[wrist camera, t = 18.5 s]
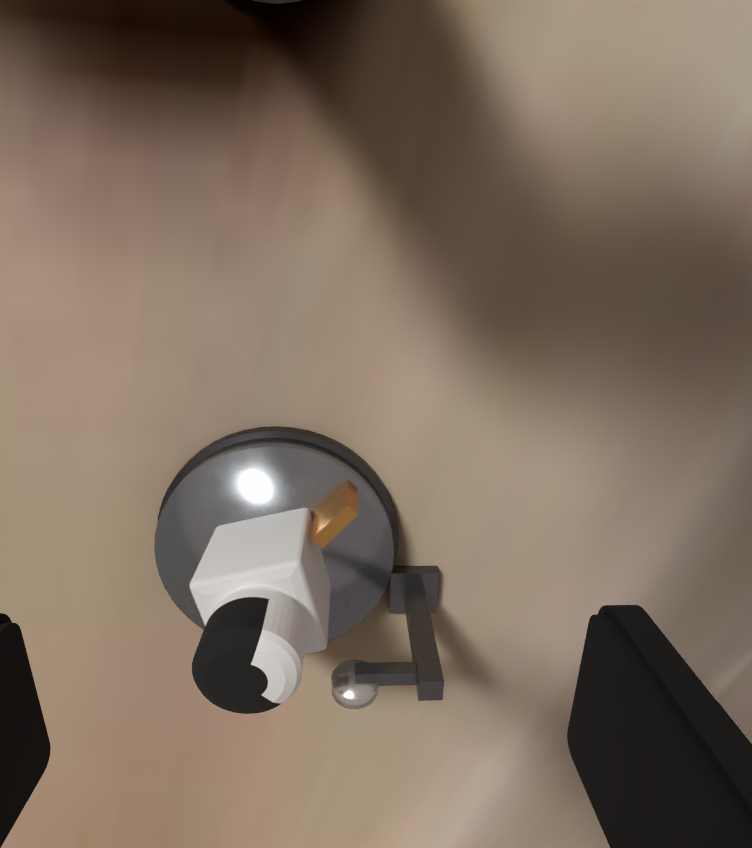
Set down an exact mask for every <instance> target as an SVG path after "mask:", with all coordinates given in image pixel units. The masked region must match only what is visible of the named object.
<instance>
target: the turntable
mask: <svg viewBox="0 0 752 848" xmlns="http://www.w3.org/2000/svg"><path fill="white" fill-rule="evenodd" d="M299 508H308V509H309V511H310V513H311V517H312V520H313V529H312V537H311V540H312V541H313V542H314V543H316V544H317V545H318V546H319V547H320V548H321V551H322V555H323V558H324V561H325V565H326V568H327V572H328V575H329V579H330V582H331V588H330V605H329V622H328V640H327V642H329V641H331V640H333V639H336V638H338V637H340V636H342V635H343V634H345V633H347V632H348V631H350V630H351V629H353V628H354V627H355V626H357V625H358V624H359V623H360V622H362V621H363V620H364V619H365V618H366V617H367V616H368V615H369V614H370V613H371V612H372V610H373V609H374V608H375V606H376V605H377V604H378V602H379V601H380V599H381V597H382V596H383V594H384V592H385V590H386V588H387V585H388V583H389V580H390V577H391V572H392V568H393V559H394V547H393V537H392V530H391V524H390V520H389V515H388V512H387V509H386V507H385V504H384V502H383V500H382V498H381V496H380V494H379V493H378V491H377V489H376V488H375V487H374V485H373V484H372V483H371V481H370V480H369V479H368V478H367V477H366V476H365V475H364V474H363V473H362V472H361V471H360V470H359V469H358V468H357V467H356V466H355V465H353V464H352V463H351V462H349V461H348V460H347V459H345V458H344V457H342V456H340V455H338V454H337V453H335V452H333V451H331V450H329V449H326V448H324V447H322V446H319V445H317V444H313V443H309V442H306V441H302V440H296V439H289V438H259V439H251V440H247V441H242V442H238V443H235V444H232V445H230V446H227V447H224V448H222V449H220V450H218V451H216V452H214V453H212V454H210V455H209V456H207V457H206V458H205V459H203V460H202V461H200V462H199V463H198V464H197V465H195V466H194V467H193V468H192V469H191V470H190V471H189V472H188V473H187V474H186V475H185V477H184V478H183V479H182V480H181V482H180V483H179V484H178V486H177V487H176V489H175V490H174V491H173V493H172V494H171V496H170V497H169V499H168V501H167V502H166V504H165V506H164V508H163V510H162V512H161V515H160V518H159V520H158V524H157V529H156V534H155V558H156V564H157V568H158V572H159V575H160V578H161V580H162V582H163V585H164V587H165V589H166V591H167V592H168V594H169V595H170V597H171V599H172V600H173V601H174V603H175V604H176V605H177V606H178V608H179V609H180V610H181V611H182V612H183V613H184V614H185V615H186V616H187V617H188V618H189V619H190V620H191V621H193V622H194V623H195V624H197V625H198V626H199V627H201V628H202V629H203V630H204V629H205V625H204V622H203V620H202V617H201V615H200V612H199V610H198V607H197V605H196V602H195V600H194V598H193V595H192V593H191V590H190V582H191V580H192V578H193V576H194V573H195V571H196V569H197V567H198V565H199V563H200V561H201V559H202V556H203V554H204V552H205V550H206V548H207V546H208V544H209V541H210V539H211V537H212V535H213V533H214V531H215V529H216V527H217V526H220V525H224V524H229V523H234V522H238V521H243V520H248V519H252V518H257V517H262V516H267V515H271V514H276V513H281V512H285V511H290V510H295V509H299Z"/></svg>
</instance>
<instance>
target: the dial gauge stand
mask: <svg viewBox="0 0 752 848" xmlns="http://www.w3.org/2000/svg"><path fill="white" fill-rule="evenodd" d="M438 578H439V572H438V568H437V566H394V567H393V569H392V572H391V577H390V580H389V613H406V619H407V626H408V633H409V639H410V646H411V653H412V660H413V662H386V663H367V662H364V661H360V660H350V661H346V662H344V663H342V664H340V665H339V666H338V667H336V669H335V670H334V671H333V674H332V678H331V680H332V696H333V698H334V700H335V701H336V702H337V703H338V704H340V705H341V706H343V707H345V708H349V709H360V708H363V707H366V706H368V705H370V704H371V703H372V702H373V701H374V700H375V698H376V696H377V694H378V686H386V685H416V687H417V694H418V701H421V700H442V699H443V687H444V679H443V674H442V670H441V665H440V660H439V655H438V651H437V646H436V641H435V636H434V632H433V627H432V622H431V617H430V613H436V606H437V592H438Z"/></svg>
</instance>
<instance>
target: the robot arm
mask: <svg viewBox="0 0 752 848" xmlns="http://www.w3.org/2000/svg"><path fill="white" fill-rule="evenodd" d="M253 1H256V2H264V3H274V4H282V3H290V2H298V1H301V0H253ZM567 737H568V746H569V750H570V754H571V756H572V759H573V761H574V764H575V766H576V769H577V771H578V773H579V776H580V778H581V780H582V783H583V785H584V787H585V790H586V792H587V794H588V797H589V799H590V801H591V804H592V806H593V808H594V811H595V813H596V815H597V818H598V820H599V822H600V825H601V827H602V829H603V832H604V834H605V836H606V839H607V841H608V844H609V846H610V848H752V744H751V743H750V742H749V740H748V739H747V738H746V737H745V735H744V734H743V733H742V732H741V730H740V729H739V728H738V726H737V725H736V724H735V723H734V721H733V720H732V719H731V718H730V716H729V715H728V714H727V713H726V711H725V710H724V709H723V708H722V706H721V705H720V704H719V703H718V702H717V701H716V700H715V699H714V697H713V696H712V695H711V693H710V692H709V691H708V690H707V688H706V687H705V686H704V685H703V683H702V682H701V681H700V680H699V678H698V677H697V676H696V675H695V673H694V672H693V671H692V669H691V668H690V667H689V666H688V664H687V663H686V662H685V661H684V659H683V658H682V657H681V656H680V654H679V653H678V652H677V651H676V649H675V648H674V647H673V646H672V644H671V643H670V642H669V640H668V639H667V638H666V637H665V635H664V634H663V633H662V632H661V630H660V629H659V628H658V627H657V625H656V624H655V623H654V622H653V620H652V619H651V618H650V616H649V615H648V614H647V613H646V611H645V610H644V609H643V608H642V607H640V606H638V605H606V606H602V607H601V609H600V610H599V613H598V615H592V616H591V617H590V620H589V624H588V629H587V634H586V639H585V644H584V650H583V655H582V660H581V665H580V670H579V675H578V680H577V685H576V691H575V696H574V701H573V706H572V711H571V716H570V721H569V727H568V733H567ZM49 756H50V742H49V738H48V734H47V730H46V726H45V722H44V718H43V714H42V711H41V707H40V703H39V699H38V695H37V691H36V687H35V683H34V679H33V675H32V672H31V668H30V664H29V660H28V656H27V652H26V648H25V644H24V640H23V637H22V633H21V629H20V627H19V625H17V624H16V623H12V622H11V620H10V618H9V617H8V616H7V615H6V614H1V613H0V848H1V846H2V844H3V842H4V841H5V839H6V837H7V835H8V834H9V832H10V830H11V829H12V827H13V825H14V823H15V822H16V820H17V818H18V816H19V815H20V813H21V811H22V809H23V808H24V806H25V804H26V802H27V801H28V799H29V797H30V796H31V794H32V792H33V790H34V789H35V787H36V785H37V783H38V782H39V780H40V778H41V776H42V775H43V773H44V771H45V769H46V767H47V764H48V761H49Z"/></svg>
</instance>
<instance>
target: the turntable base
mask: <svg viewBox="0 0 752 848" xmlns="http://www.w3.org/2000/svg"><path fill="white" fill-rule="evenodd" d="M259 438H289V439H296V440H302V441H306V442H309V443H313V444H317V445H319V446H322V447H324V448H326V449H329V450H331V451H333V452H335V453H337V454H338V455H340V456H342V457H344V458H345V459H347V460H348V461H349V462H351V463H352V464H353V465H355V466H356V467H357V468H358V469H359V470H360V471H361V472H362V473H363V474H364V475H365V476H366V477H367V478H368V479H369V480H370V481H371V483H372V484H373V485H374V487H375V488H376V489H377V491H378V493H379V494H380V496H381V498H382V500H383V502H384V504H385V507H386V509H387V512H388V515H389V520H390V524H391V530H392V537H393V547H394V559H393V567H394V563H395V559H396V556H397V547H398V528H397V522H396V516H395V511H394V507H393V504H392V501H391V498H390V496H389V494H388V492H387V490H386V488H385V486H384V484H383V482H382V481H381V480H380V478H379V477H378V475H377V474H376V472H375V471H374V470H373V469H372V468H371V467H370V466H369V465H368V464H367V463H366V462H365V461H364V460H363V459H362V458H361V457H360V456H358V455H357V454H356V453H355V452H353V451H352V450H351V449H349V448H347V447H346V446H344V445H343V444H341V443H339V442H337V441H335V440H333V439H331V438H328V437H326V436H324V435H321V434H318V433H315V432H311V431H308V430H303V429H297V428H291V427H259V428H254V429H248V430H243V431H240V432H237V433H233V434H230V435H227V436H225V437H223V438H221V439H219V440H217V441H215V442H213V443H211V444H210V445H208V446H206V447H205V448H203V449H202V450H200V451H199V452H198V453H197V454H196V455H195V456H193V457H192V458H191V459H190V460H189V461H188V462H187V463H186V464H185V466H184V467H183V468H182V469H181V470H180V471H179V473H178V474H177V475H176V477H175V478H174V480H173V481H172V483H171V485H170V486H169V488H168V489H167V492H166V494H165V496H164V499H163V501H162V504H161V508H160V512H159V515H158V520H159V518H160V515H161V512H162V510H163V508H164V506H165V504H166V502H167V501H168V499H169V497H170V496H171V494H172V493H173V491H174V490H175V489H176V487H177V486H178V484H179V483H180V482H181V480H182V479H183V478H184V477H185V475H186V474H187V473H188V472H189V471H190V470H191V469H192V468H193V467H194V466H195V465H197V464H198V463H199V462H200V461H202V460H203V459H205V458H206V457H207V456H209V455H210V454H212V453H214V452H216V451H218V450H220V449H222V448H224V447H227V446H230V445H232V444H235V443H238V442H242V441H247V440H251V439H259ZM392 569H393V568H392Z"/></svg>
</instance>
